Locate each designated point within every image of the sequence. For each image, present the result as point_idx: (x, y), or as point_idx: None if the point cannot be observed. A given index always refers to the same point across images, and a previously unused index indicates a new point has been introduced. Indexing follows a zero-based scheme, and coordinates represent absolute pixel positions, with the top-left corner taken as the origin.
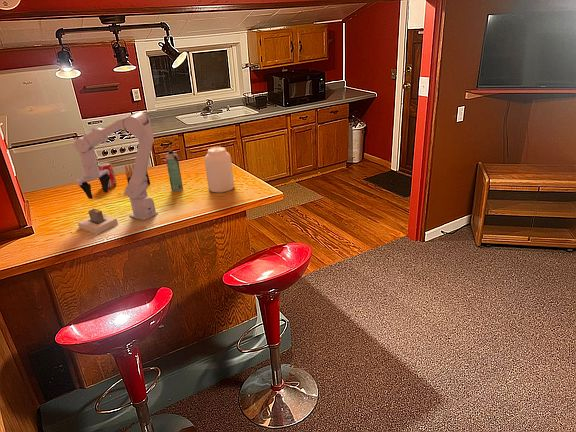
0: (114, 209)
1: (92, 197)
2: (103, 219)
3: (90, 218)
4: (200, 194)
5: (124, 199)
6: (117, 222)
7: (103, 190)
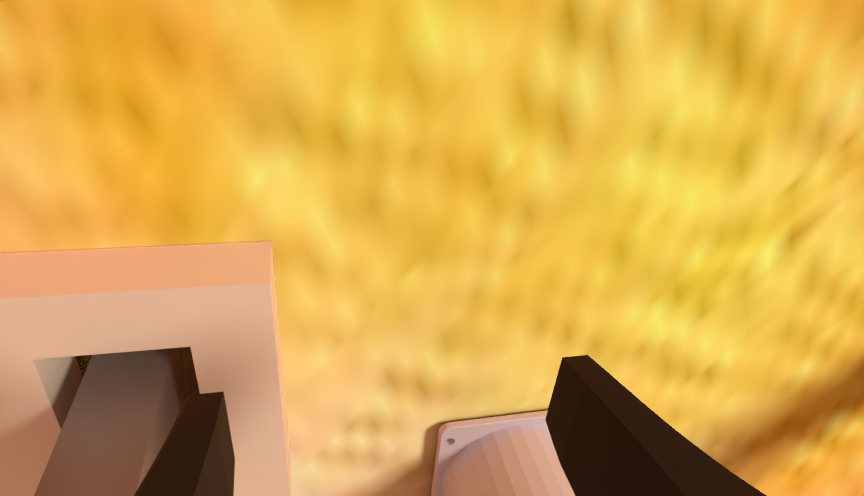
0: (520, 186)
1: (233, 482)
2: None
3: (69, 415)
4: (859, 477)
5: (799, 47)
6: (290, 471)
7: (574, 382)
